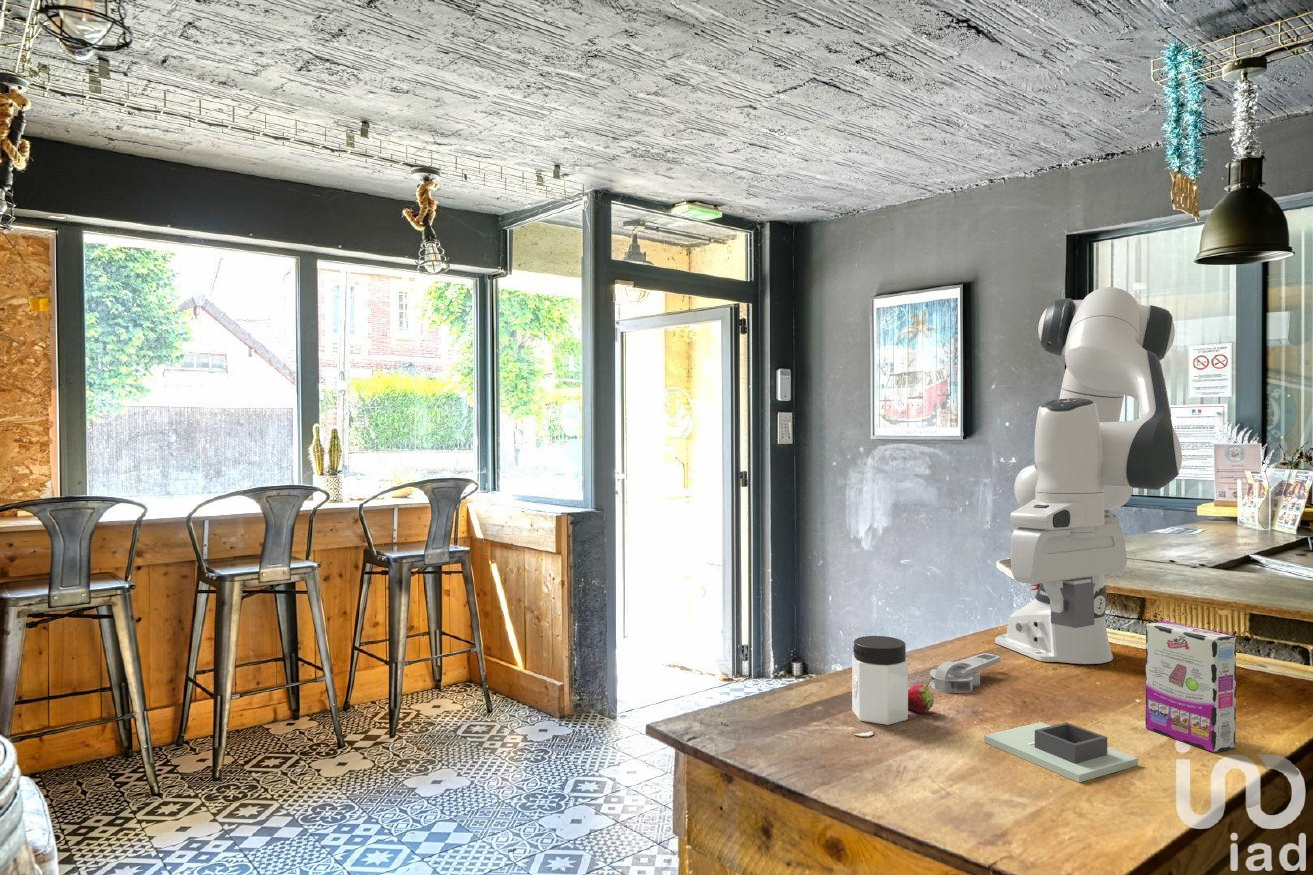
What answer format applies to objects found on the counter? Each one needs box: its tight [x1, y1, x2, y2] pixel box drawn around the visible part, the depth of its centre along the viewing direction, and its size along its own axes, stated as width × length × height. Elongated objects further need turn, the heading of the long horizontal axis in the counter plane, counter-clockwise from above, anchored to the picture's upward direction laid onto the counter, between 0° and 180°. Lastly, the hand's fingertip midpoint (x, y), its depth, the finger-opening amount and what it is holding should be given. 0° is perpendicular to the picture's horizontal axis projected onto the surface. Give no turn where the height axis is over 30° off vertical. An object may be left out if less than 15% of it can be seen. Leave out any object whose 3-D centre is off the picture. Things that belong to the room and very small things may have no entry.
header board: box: [983, 721, 1139, 783], centre depth 125 cm, size 16×12×4 cm
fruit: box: [908, 683, 935, 714], centre depth 143 cm, size 4×6×5 cm
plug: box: [1050, 578, 1095, 628], centre depth 125 cm, size 4×4×6 cm
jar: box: [851, 635, 909, 726], centre depth 141 cm, size 9×8×12 cm
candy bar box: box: [1145, 620, 1237, 753], centre depth 130 cm, size 11×5×16 cm, turn 23°
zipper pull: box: [929, 652, 1001, 694], centre depth 159 cm, size 8×18×4 cm, turn 130°
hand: (1072, 609), depth 125 cm, fingers closed on plug, 4 cm apart
